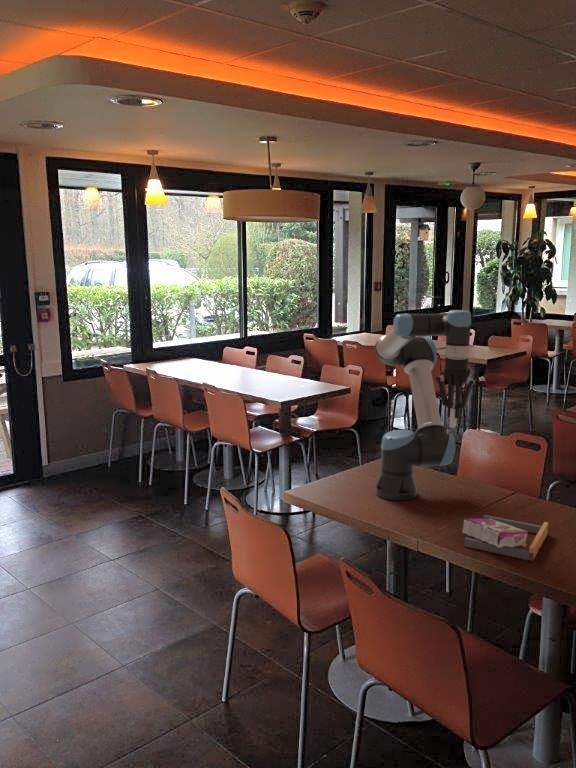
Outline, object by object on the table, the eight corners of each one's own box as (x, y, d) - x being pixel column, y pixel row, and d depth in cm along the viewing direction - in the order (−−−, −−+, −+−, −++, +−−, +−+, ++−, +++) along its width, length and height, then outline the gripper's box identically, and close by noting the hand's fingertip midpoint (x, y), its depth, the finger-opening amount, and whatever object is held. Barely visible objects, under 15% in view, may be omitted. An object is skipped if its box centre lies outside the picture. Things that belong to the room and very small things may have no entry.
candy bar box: (491, 517, 217) (529, 531, 202) (489, 532, 217) (527, 547, 202) (463, 517, 212) (499, 531, 197) (461, 533, 212) (497, 548, 197)
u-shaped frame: (464, 546, 207) (464, 533, 206) (484, 521, 226) (484, 510, 225) (532, 561, 197) (533, 548, 196) (547, 534, 216) (548, 522, 215)
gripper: (433, 357, 224) (430, 426, 229) (472, 361, 218) (468, 432, 222) (441, 354, 231) (438, 421, 235) (479, 357, 224) (475, 427, 229)
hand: (452, 426), depth 229 cm, fingers closed
